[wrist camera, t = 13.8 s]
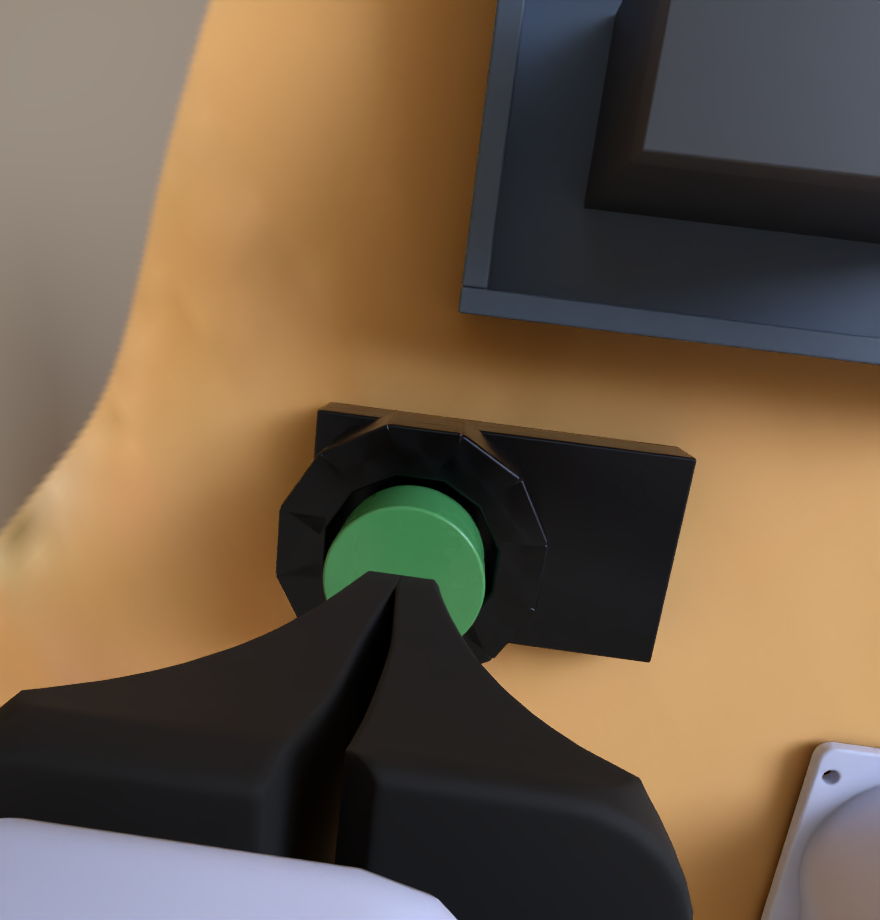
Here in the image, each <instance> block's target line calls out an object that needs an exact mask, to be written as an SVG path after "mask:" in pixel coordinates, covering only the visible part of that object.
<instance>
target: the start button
mask: <svg viewBox="0 0 880 920" xmlns="http://www.w3.org/2000/svg"><path fill="white" fill-rule="evenodd" d="M368 571H375V572H382V573H390V574H397V575H404V576H412V577H419V578H427V579H434V580H435V581H436V583H437V584H438V585H439V589H440V593H441V596H442V598H443V601H444V603H445V605H446V608H447V610H448V612H449V614H450V616H451V618H452V620H453V622H454V623H455V625H456V627H457V629H458V630H459V632H460V634H461V636H463V635H464V634H465V633H466V632H467V631H468V629H469V628H470V627H471V625H472V624H473V623H474V621H475V619H476V618H477V616H478V614H479V612H480V609H481V607H482V604H483V599H484V595H485V564H484V547H483V542H482V538H481V535H480V532H479V529H478V527H477V526H476V524H475V522H474V520H473V519H472V517H471V516H470V514H469V513H468V512H467V511H466V510H465V509H464V508H463V507H462V506H461V505H460V504H459V503H458V502H456V501H455V500H454V499H452V498H451V497H449V496H448V495H446V494H444V493H441V492H439V491H437V490H434V489H431V488H427V487H422V486H414V485H404V486H395V487H390V488H387V489H384V490H381V491H379V492H377V493H375V494H372V495H371V496H369V497H368V498H366V499H365V500H363V501H362V502H361V503H360V504H359V505H358V506H357V507H356V508H355V509H354V510H353V511H352V513H351V514H350V515H349V517H348V519H347V520H346V522H345V523H344V525H343V527H342V528H341V530H340V531H339V533H338V535H337V536H336V538H335V539H334V541H333V543H332V544H331V546H330V549H329V551H328V553H327V556H326V559H325V562H324V569H323V587H324V594H325V597H326V600H328V599H329V598H331V597H332V596H333V595H335V594H336V593H338V592H339V591H341V590H342V589H343V588H345V587H346V586H348V585H349V584H350V583H352V582H353V581H355V580H356V579H358V578H359V577H360V576H362V575H363V574H365V573H366V572H368Z"/></svg>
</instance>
